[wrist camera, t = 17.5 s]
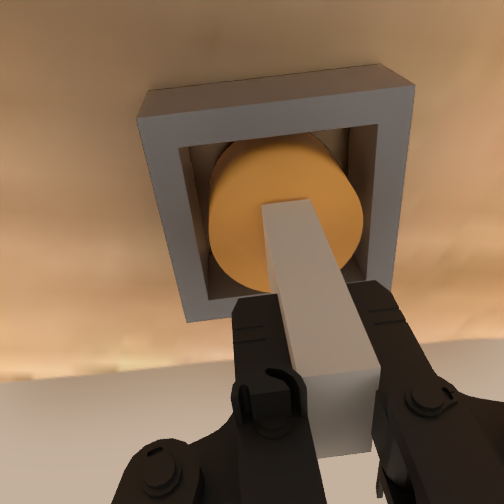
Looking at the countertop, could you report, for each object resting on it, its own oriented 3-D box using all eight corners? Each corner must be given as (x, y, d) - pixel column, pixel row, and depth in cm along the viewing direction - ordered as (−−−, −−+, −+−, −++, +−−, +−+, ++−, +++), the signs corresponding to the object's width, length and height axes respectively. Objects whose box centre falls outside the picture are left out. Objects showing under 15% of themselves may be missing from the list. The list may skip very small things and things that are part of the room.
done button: (199, 136, 15) (196, 171, 12) (341, 119, 15) (367, 150, 12) (218, 253, 18) (220, 301, 15) (338, 238, 18) (359, 283, 15)
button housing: (148, 90, 15) (135, 118, 12) (380, 63, 15) (415, 85, 12) (189, 275, 19) (186, 323, 17) (366, 253, 19) (389, 297, 17)
